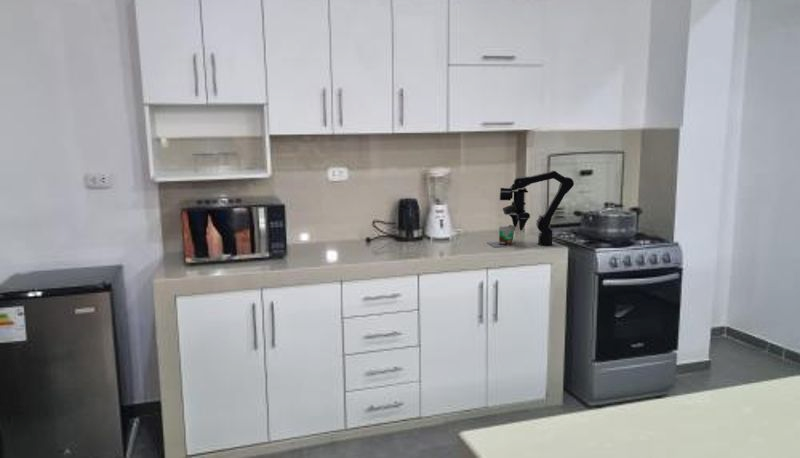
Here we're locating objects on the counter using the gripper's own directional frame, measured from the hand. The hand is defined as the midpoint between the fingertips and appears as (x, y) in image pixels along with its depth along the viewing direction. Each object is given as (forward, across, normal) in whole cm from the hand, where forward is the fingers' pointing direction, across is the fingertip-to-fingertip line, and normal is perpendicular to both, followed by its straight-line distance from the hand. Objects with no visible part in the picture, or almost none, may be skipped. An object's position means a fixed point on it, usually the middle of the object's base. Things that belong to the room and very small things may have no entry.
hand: (517, 228), depth 322 cm
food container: (+9, 0, -5) cm, 10 cm away
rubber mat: (+9, 0, -12) cm, 15 cm away
